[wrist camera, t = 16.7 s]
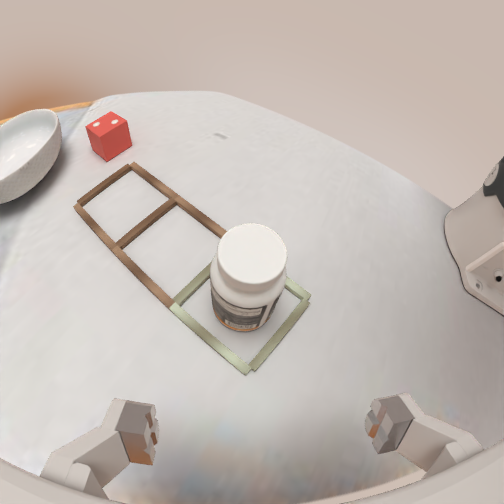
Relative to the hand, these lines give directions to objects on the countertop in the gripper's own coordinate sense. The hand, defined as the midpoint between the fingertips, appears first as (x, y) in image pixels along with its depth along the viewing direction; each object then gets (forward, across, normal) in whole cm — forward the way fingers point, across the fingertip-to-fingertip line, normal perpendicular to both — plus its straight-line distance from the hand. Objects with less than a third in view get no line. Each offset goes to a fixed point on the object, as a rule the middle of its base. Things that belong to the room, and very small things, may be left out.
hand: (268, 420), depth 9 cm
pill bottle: (+18, 0, +4) cm, 19 cm away
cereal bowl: (+31, +34, -9) cm, 47 cm away
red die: (+34, +19, -12) cm, 41 cm away
